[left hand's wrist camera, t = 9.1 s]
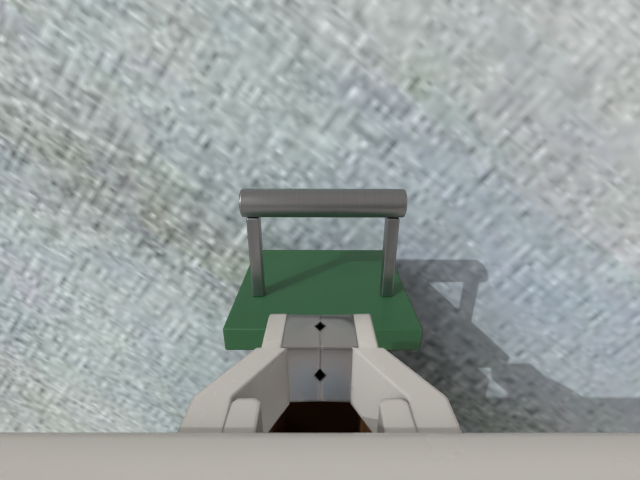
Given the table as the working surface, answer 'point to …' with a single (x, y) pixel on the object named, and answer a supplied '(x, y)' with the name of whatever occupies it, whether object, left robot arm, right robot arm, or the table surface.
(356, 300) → the drawer
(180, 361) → the table surface
